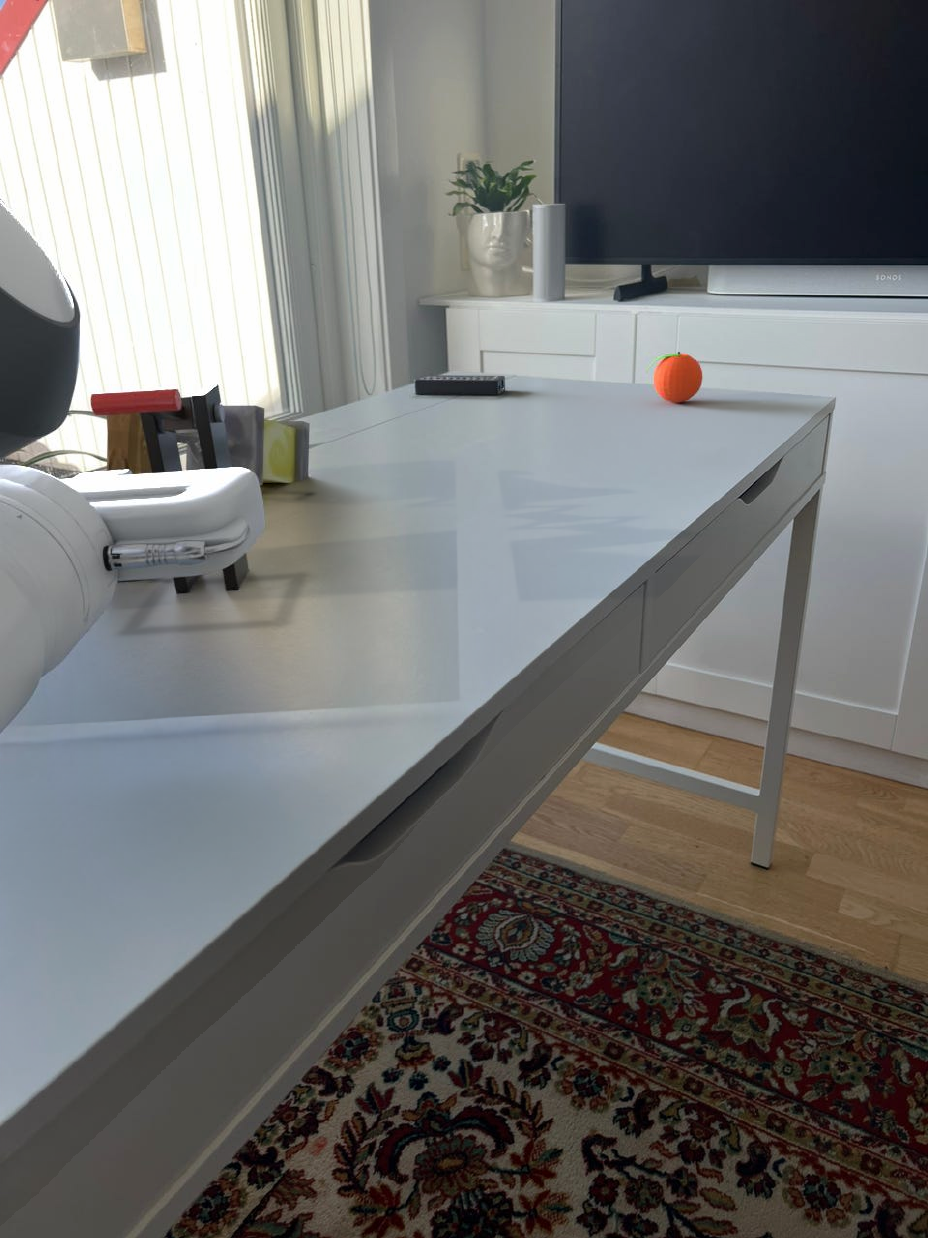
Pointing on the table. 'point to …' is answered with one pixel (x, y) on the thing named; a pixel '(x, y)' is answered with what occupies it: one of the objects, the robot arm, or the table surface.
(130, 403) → the switch lever
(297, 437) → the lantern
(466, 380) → the multiport hub
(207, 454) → the switch bracket
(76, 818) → the table surface
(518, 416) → the table surface
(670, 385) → the clementine
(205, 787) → the table surface
